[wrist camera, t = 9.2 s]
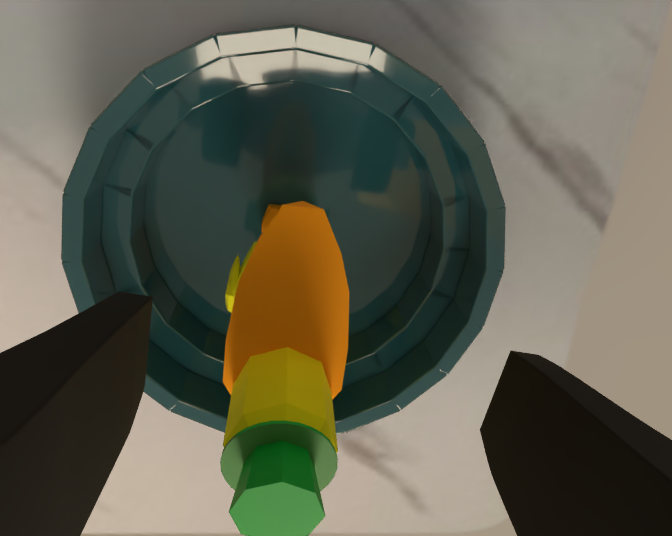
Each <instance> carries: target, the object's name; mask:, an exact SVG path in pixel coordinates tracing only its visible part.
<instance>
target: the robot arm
mask: <svg viewBox="0 0 672 536" xmlns="http://www.w3.org/2000/svg"><path fill="white" fill-rule="evenodd" d="M152 302H153V296H146V295H139V294H133V293H126V292H117V293H115V294H113V295H111V296H109V297H108V298H106V299H104V300H102V301H100V302H98V303H97V304H95V305H93V306H91V307H90V308H88V309H86V310H84V311H83V312H81V313H79V314H77V315H75V316H73V317H72V318H70V319H68V320H66V321H64V322H62V323H60V324H59V325H57V326H55V327H53V328H51V329H49V330H47V331H45V332H44V333H41V334H39V335H37V336H35V337H33V338H31V339H29V340H27V341H25V342H23V343H20V344H18V345H16V346H14V347H12V348H10V349H8V350H6V351H4V352H2V353H0V536H80V535H81V533H82V531H83V529H84V527H85V525H86V522H87V520H88V518H89V516H90V514H91V512H92V510H93V508H94V506H95V504H96V502H97V500H98V498H99V496H100V494H101V491H102V489H103V487H104V485H105V483H106V481H107V479H108V477H109V475H110V473H111V471H112V469H113V467H114V465H115V462H116V460H117V458H118V456H119V454H120V452H121V450H122V448H123V446H124V444H125V441H126V439H127V437H128V435H129V433H130V430H131V427H132V424H133V421H134V418H135V415H136V412H137V409H138V406H139V403H140V400H141V397H142V394H143V391H144V388H145V379H146V368H147V357H148V346H149V335H150V324H151V313H152ZM480 432H481V436H482V440H483V444H484V448H485V452H486V456H487V460H488V463H489V467H490V470H491V474H492V476H493V479H494V481H495V484H496V486H497V489H498V491H499V494H500V496H501V498H502V501H503V503H504V506H505V508H506V511H507V513H508V515H509V518H510V520H511V522H512V525H513V527H514V529H515V532H516V534H517V536H672V440H670V439H669V438H668V437H666V436H664V435H663V434H661V433H660V432H658V431H656V430H655V429H653V428H652V427H650V426H648V425H647V424H645V423H644V422H642V421H640V420H639V419H638V418H636V417H635V416H633V415H632V414H630V413H629V412H627V411H625V410H624V409H623V408H621V407H620V406H618V405H617V404H615V403H614V402H612V401H611V400H609V399H608V398H606V397H605V396H603V395H602V394H600V393H599V392H597V391H596V390H595V389H593V388H591V387H590V386H588V385H587V384H586V383H584V382H583V381H581V380H580V379H578V378H577V377H575V376H574V375H572V374H570V373H569V372H567V371H566V370H564V369H563V368H561V367H559V366H558V365H556V364H554V363H553V362H551V361H549V360H547V359H545V358H543V357H541V356H539V355H536V354H529V353H522V352H516V351H510V354H509V356H508V359H507V361H506V364H505V366H504V369H503V372H502V374H501V377H500V379H499V382H498V385H497V387H496V390H495V392H494V395H493V397H492V400H491V403H490V405H489V408H488V410H487V413H486V415H485V418H484V421H483V423H482V426H481V428H480Z"/></svg>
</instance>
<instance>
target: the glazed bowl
mask: <svg viewBox="0 0 672 536" xmlns="http://www.w3.org/2000/svg"><path fill="white" fill-rule="evenodd" d="M299 201H305V202H307V203H310V204H312V205H314V206H317V207H319V208H322V209H324V211H325V213H326V216H327V218H328V221H329V223H330V226H331V229H332V231H333V234H334V236H335V239H336V241H337V244H338V246H339V249H340V251H341V254H342V259H343V264H344V269H345V274H346V279H347V283H348V288H349V330H348V353H347V359H346V365H345V371H344V378H343V384H342V390H341V391H340V392H339V393H338V394H337V395H336V396H335V397H334V398H333V400H332V402H333V411H334V421H335V430H336V434H339V433H344V432H349V431H352V430H354V429H356V428H359V427H361V426H364V425H366V424H369V423H371V422H374V421H376V420H379V419H381V418H384V417H386V416H389V415H391V414H394V413H396V412H399V411H400V410H401V409H403V408H404V407H406V406H407V405H408V404H410V403H411V402H412V401H414V400H415V399H416V398H418V397H419V396H420V395H422V394H423V393H424V392H426V391H427V390H428V389H430V388H431V387H432V386H434V385H435V384H436V383H437V382H439V381H440V380H441V379H443V378H444V377H445V376H446V374H449V372H450V371H451V370H452V368H453V367H454V366H455V364H456V363H457V362H458V360H459V359H460V358H461V356H462V355H463V354H464V352H465V351H466V350H467V348H468V347H469V346H470V344H471V343H472V342H473V340H474V339H475V338H476V336H477V335H478V334H479V332H480V331H481V330H482V327H483V326H484V324H485V321H486V318H487V316H488V313H489V310H490V307H491V304H492V302H493V299H494V296H495V293H496V291H497V288H498V285H499V282H500V279H501V277H502V274H503V270H504V252H505V210H506V208H505V203H504V200H503V197H502V194H501V191H500V188H499V185H498V182H497V179H496V176H495V173H494V169H493V166H492V163H491V160H490V157H489V154H488V151H487V148H486V145H485V143H484V140H483V139H482V138H481V136H480V135H479V134H478V133H477V131H476V130H475V129H474V127H473V126H472V125H471V124H470V122H469V121H468V120H467V118H466V117H465V116H464V114H463V113H462V112H461V111H460V109H459V108H458V107H457V105H456V104H455V103H454V102H453V100H452V99H451V98H450V96H449V95H448V94H447V92H446V91H445V90H444V89H443V87H442V86H440V85H439V84H438V83H437V82H435V81H434V80H432V79H431V78H429V77H428V76H426V75H424V74H423V73H421V72H420V71H418V70H417V69H415V68H414V67H412V66H410V65H409V64H407V63H406V62H404V61H403V60H401V59H400V58H398V57H396V56H395V55H393V54H392V53H390V52H389V51H387V50H385V49H384V48H382V47H381V46H379V45H378V44H374V43H373V42H369V41H365V40H361V39H356V38H352V37H348V36H343V35H339V34H335V33H331V32H326V31H322V30H318V29H313V28H309V27H305V26H301V25H297V26H295V25H287V26H278V27H269V28H260V29H251V30H242V31H233V32H224V33H217V34H215V35H211V36H209V37H207V38H205V39H203V40H200V41H198V42H196V43H194V44H192V45H190V46H188V47H186V48H184V49H182V50H180V51H178V52H176V53H174V54H172V55H170V56H168V57H166V58H164V59H162V60H160V61H158V62H156V63H154V64H152V65H150V66H148V67H146V68H144V70H143V71H140V72H139V73H138V74H137V75H136V77H135V78H134V79H133V80H132V81H131V82H130V83H129V84H128V85H127V86H126V87H125V88H124V89H123V90H122V92H121V93H120V94H119V95H118V96H117V97H116V98H115V99H114V100H113V101H112V102H111V103H110V104H109V105H108V107H107V108H106V109H105V110H104V111H103V112H102V113H101V114H100V115H99V116H98V117H97V118H96V119H95V120H94V122H93V123H92V124H91V127H89V129H88V131H87V134H86V136H85V139H84V141H83V144H82V146H81V149H80V151H79V153H78V156H77V158H76V161H75V163H74V166H73V168H72V171H71V173H70V176H69V178H68V181H67V183H66V186H65V188H64V193H63V205H62V250H61V259H62V265H63V268H64V271H65V274H66V277H67V280H68V283H69V286H70V289H71V292H72V295H73V298H74V301H75V304H76V307H77V310H78V313H81V312H83V311H84V310H86V309H88V308H90V307H91V306H93V305H95V304H97V303H98V302H100V301H102V300H104V299H106V298H108V297H109V296H111V295H113V294H115V293H117V292H126V293H133V294H139V295H146V296H153V302H152V313H151V324H150V335H149V346H148V357H147V368H146V379H145V388H144V391H143V392H145V393H146V394H147V395H149V396H150V397H151V398H153V399H154V400H155V401H157V402H158V403H159V404H161V405H162V406H163V407H165V408H166V409H167V410H169V411H170V410H171V412H173V413H175V414H178V415H180V416H183V417H186V418H188V419H191V420H193V421H196V422H198V423H201V424H204V425H206V426H209V427H211V428H214V429H216V430H219V431H222V432H224V433H225V430H226V424H227V418H228V412H229V406H230V400H231V395H230V393H229V391H228V390H227V388H226V387H225V385H224V383H223V371H224V357H225V343H226V336H227V332H228V327H229V322H230V318H231V312H229V311H228V310H227V307H226V303H225V293H226V289H227V284H228V280H229V275H230V271H231V268H232V265H233V263H234V261H235V258H236V257H237V256H239V259H240V266H241V265H242V263H243V261H244V259H245V257H246V256H247V254H248V252H249V250H250V248H251V246H252V245H253V243H254V242H256V241H258V239H259V237H260V235H261V234H262V219H263V217H264V214H265V212H266V210H267V207H268V205H269V204H276V205H284V204H289V203H294V202H299Z"/></svg>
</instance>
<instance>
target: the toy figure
mask: <svg viewBox="0 0 672 536" xmlns="http://www.w3.org/2000/svg"><path fill="white" fill-rule="evenodd" d="M225 303H226V307H227V310H228V311H229V312H231V318H230V322H229V327H228V332H227V336H226V343H225V357H224V371H223V383H224V385H225V387H226V388H227V390H228V391H229V393H230V395H231V400H230V406H229V412H228V418H227V424H226V430H225V436H224V442H223V446H224V449H223V452H222V457H221V462H220V463H221V472H222V474H223V476H224V478H225V480H226V482H227V483H228V484H229V485H230V486H231V488H233V489H234V490H235V494H234V497H233V500H232V503H231V507H230V510H229V513H230V515H231V517H232V519H233V520H234V522H235V524H236V526H237V528H238V529H239V531H240V533H241V534H243V535H246V536H308V535H309V534H310V533H311V532H312V531H313V529H314V528H315V527H316V526H317V525H318V524H319V523H320V521H321V520H322V519H323V518H324V517H325V513H324V508H323V503H322V499H321V494H320V491H321V490H323V489H324V488H325V487H326V486H327V485H328V484H329V483H330V481H331V480H332V479H333V477H334V475H335V472H336V470H337V454H336V453H337V452H338V448H337V439H336V430H335V421H334V411H333V402H332V400H333V398H334V397H335V396H336V395H337V394H338V393H339V392H340V391H341V390H342V384H343V378H344V371H345V365H346V359H347V353H348V330H349V288H348V283H347V279H346V274H345V269H344V264H343V259H342V254H341V251H340V249H339V246H338V244H337V241H336V239H335V236H334V234H333V231H332V229H331V226H330V223H329V221H328V218H327V216H326V213H325V211H324V209H322V208H319V207H317V206H314V205H312V204H310V203H307V202H305V201H299V202H294V203H289V204H284V205H276V204H269V205H268V207H267V210H266V212H265V214H264V217H263V219H262V234H261V235H260V237H259V239H258V241H256V242H254V243H253V245H252V246H251V248H250V250H249V252H248V254H247V256H246V257H245V259H244V261H243V263H242V265H241V266H240V259H239V256H237V257H236V258H235V261H234V263H233V265H232V268H231V271H230V275H229V280H228V284H227V289H226V293H225Z"/></svg>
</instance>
